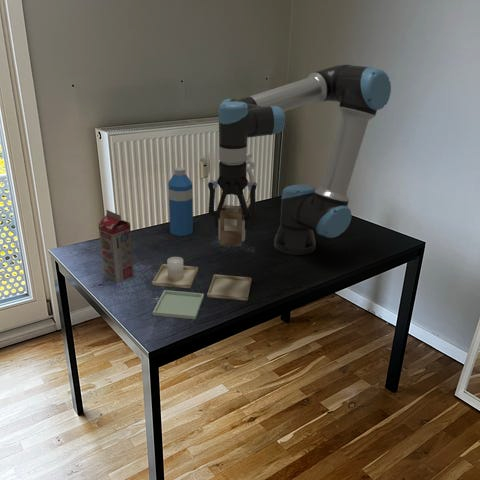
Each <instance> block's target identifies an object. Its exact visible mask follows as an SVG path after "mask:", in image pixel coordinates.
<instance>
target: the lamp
mask: <svg viewBox="0 0 480 480" xmlns="http://www.w3.org/2000/svg"><path fill="white" fill-rule="evenodd" d="M252 158H253V154H252V153H249V152H247V160H246V161H245V162H246V163H247V165H250V166H248V167H247V166H246V173H247V174H248V177H249V182H251V183H256V182H255V177H254V174H253V173H254V172H252V171H253V170H254V169H255V168H256V164H255V162H254V161H251V159H252ZM222 192H223V190H222V189H221V188H220V196H221V195H222ZM246 204H247V208H248V209H249V207H250V193H248V198H247V200H246ZM223 205H227V202H226V200H225V201H224V204H223ZM252 220H253V218H251V219H249V226H250V225H252Z"/></svg>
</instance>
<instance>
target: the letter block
mask: <svg viewBox="0 0 480 480" xmlns="http://www.w3.org/2000/svg"><path fill="white" fill-rule="evenodd" d="M243 217H244V215H243V212H242V209H241V205H227V204H226V205H223V207H222V210H221V212H220V240H219V244H220V246H228V247H230V246H231V247H242V244H243V241H242V219H243Z"/></svg>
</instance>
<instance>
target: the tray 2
mask: <svg viewBox="0 0 480 480" xmlns="http://www.w3.org/2000/svg"><path fill="white" fill-rule="evenodd" d="M204 297H205V293H203V292H202V293H201V292H191V291H190V292H188V291H179V290H177V291H176V290H170V289H169V290H168V289H164V290H163V291H162V294H161V295H160V297H159V299H158V301H157V303H156V305H155V307H154V308H153V311H152V316H155V317H156V316H157V317H165V318H166V317H167V318H177V319H185V320H186V319H187V320H196V319H197V316H198V313H199V311H200V308H201V305H202V303H203V300H204Z"/></svg>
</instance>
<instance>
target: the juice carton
mask: <svg viewBox="0 0 480 480" xmlns="http://www.w3.org/2000/svg"><path fill="white" fill-rule="evenodd" d="M105 211H106V215H105V216H104V217H103V218H102V219H100V220H99V222H98V233H99V242H100V244H99V245H100V252H101V262H102V272H103V273H102V274H103V278H105V279H106V280H108V281H109V280H110V281H113V282H114V283H116V284H117V283H120V282H121V281H122V282H123V281H124V280H126V279H129V278H131V277H132V276H134V274H135V273H134V272H135V271H134V258H133V244H132V234H131V223H130V222H128V221H127V220H124V219H122V216H121V215H120V214H117V213H115V212H113V211H110V210H109V209H106V210H105Z"/></svg>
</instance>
